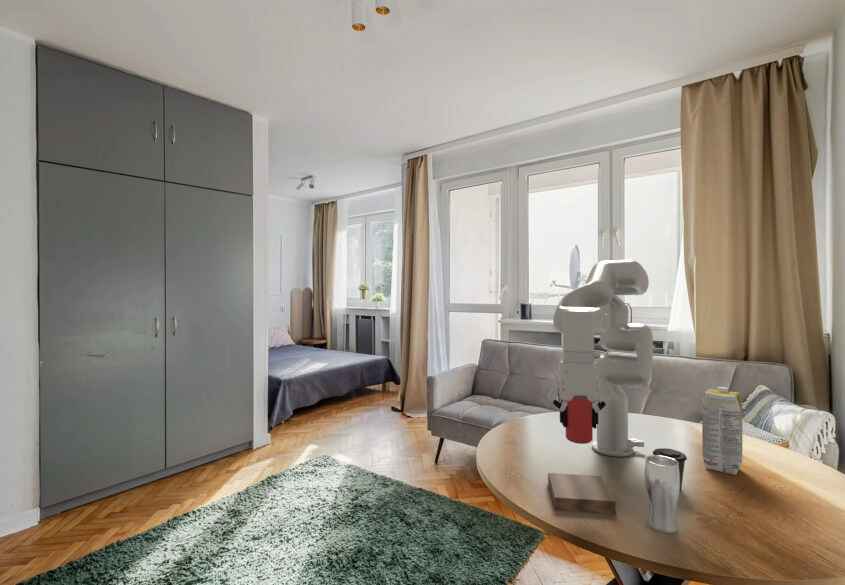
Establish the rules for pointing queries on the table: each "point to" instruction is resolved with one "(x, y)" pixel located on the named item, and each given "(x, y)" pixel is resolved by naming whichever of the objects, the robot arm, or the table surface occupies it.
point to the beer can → (579, 420)
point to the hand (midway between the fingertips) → (578, 425)
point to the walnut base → (581, 493)
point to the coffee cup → (674, 455)
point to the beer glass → (662, 492)
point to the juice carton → (722, 430)
